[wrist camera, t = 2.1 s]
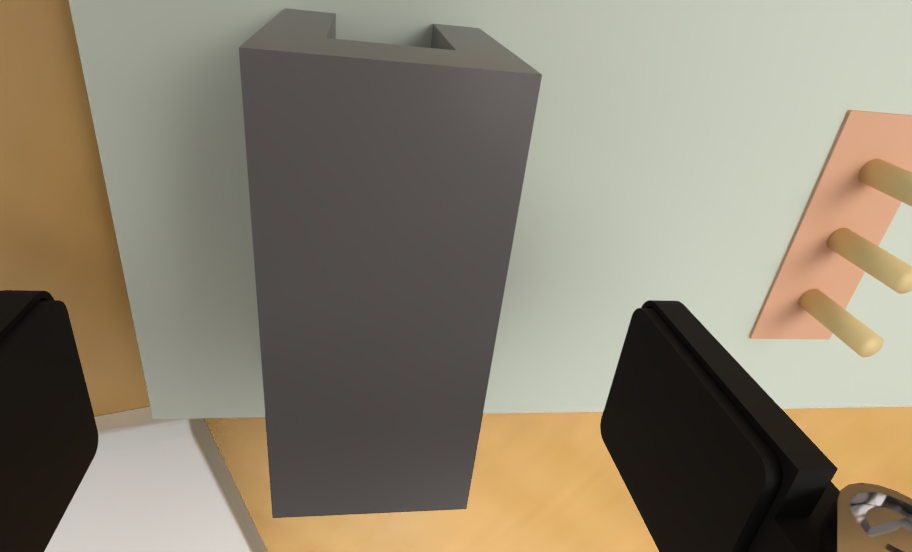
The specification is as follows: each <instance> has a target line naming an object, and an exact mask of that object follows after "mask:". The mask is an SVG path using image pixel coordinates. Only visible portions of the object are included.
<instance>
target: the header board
mask: <svg viewBox="0 0 912 552" xmlns="http://www.w3.org/2000/svg"><path fill="white" fill-rule="evenodd" d="M69 5H70V10H71V15H72V20H73V25H74V30H75V35H76V40H77V45H78V50H79V55H80V60H81V65H82V70H83V75H84V80H85V85H86V90H87V94H88V99H89V104H90V109H91V114H92V119H93V124H94V129H95V134H96V139H97V144H98V149H99V154H100V159H101V164H102V169H103V174H104V179H105V184H106V189H107V194H108V199H109V204H110V209H111V214H112V219H113V224H114V229H115V234H116V239H117V243H118V248H119V253H120V258H121V263H122V268H123V273H124V278H125V283H126V288H127V293H128V298H129V303H130V308H131V313H132V318H133V323H134V328H135V333H136V338H137V343H138V348H139V353H140V358H141V363H142V368H143V373H144V378H145V383H146V388H147V392H148V397H149V402H150V407H151V412H152V417H153V419H199V418H258V417H265V404H264V390H263V376H262V363H261V349H260V335H259V321H258V307H257V294H256V280H255V266H254V252H253V238H252V225H251V211H250V197H249V183H248V169H247V156H246V142H245V128H244V114H243V100H242V87H241V73H240V59H239V47H240V46H241V45H242V44H243V43H244V42H246V41H247V40H248V39H249V38H250V37H251V36H253V35H254V34H255V33H256V32H257V31H259V30H260V29H261V28H262V27H263V26H265V25H266V24H267V23H268V22H269V21H271V20H272V19H273V18H274V17H275V16H276V15H278V14H279V13H280V12H281V11H282V10H284V9H285V8H287V9H297V10H306V11H316V12H326V13H336V39H342V40H353V41H363V42H374V43H384V44H395V45H405V46H416V47H426V48H431V42H432V30H433V24H443V25H453V26H462V27H472V28H480V29H481V30H483V31H484V32H485V33H487V34H488V35H489V36H491V37H492V38H493V39H495V40H496V41H497V42H499V43H500V44H501V45H503V46H504V47H506V48H507V49H508V50H510V51H511V52H512V53H514V54H515V55H516V56H518V57H519V58H520V59H522V60H523V61H524V62H526V63H527V64H529V65H530V66H531V67H533V68H534V69H535V70H537V71H538V72H539V73H541V74H542V78H541V84H540V90H539V95H538V101H537V107H536V113H535V118H534V124H533V130H532V135H531V141H530V147H529V153H528V158H527V164H526V170H525V176H524V181H523V187H522V193H521V198H520V204H519V210H518V216H517V221H516V227H515V233H514V238H513V244H512V250H511V256H510V261H509V267H508V273H507V278H506V284H505V290H504V296H503V301H502V307H501V313H500V318H499V324H498V330H497V336H496V341H495V347H494V353H493V358H492V364H491V370H490V376H489V381H488V387H487V393H486V399H485V404H484V410H483V414H493V413H551V412H604V408H605V405H606V402H607V398H608V395H609V391H610V388H611V385H612V381H613V378H614V375H615V371H616V368H617V364H618V361H619V358H620V354H621V351H622V347H623V344H624V341H625V337H626V334H627V331H628V327H629V324H630V320H631V317H632V314H633V312H634V311H635V310H636V309H637V308H641V307H642V305H643V304H644V303H645V302H646V301H648V300H660V301H680V302H681V303H682V304H684V305H685V306H686V307H687V309H688V310H689V311H690V312H691V313H692V314H693V315H694V316H695V317H696V318H697V319H698V320H699V321H700V322H701V324H702V325H703V326H704V327H705V328H706V329H707V330H708V331H709V332H710V333H711V334H712V335H713V336H714V337H715V338H716V340H717V341H718V342H719V343H720V344H721V345H722V346H723V347H724V348H725V349H726V350H727V351H728V352H729V353H730V354H731V356H732V357H733V358H734V359H735V360H736V361H737V362H738V363H739V364H740V365H741V366H742V367H743V368H744V369H745V370H746V372H747V373H748V374H749V375H750V376H751V377H752V378H753V379H754V380H755V381H756V382H757V383H758V384H759V385H760V387H761V388H762V389H763V390H764V391H765V392H766V393H767V394H768V395H769V396H770V397H771V398H772V399H773V400H774V401H775V403H776V404H777V405H778V406H779V407H780V408H781V409H786V408H845V407H904V406H912V0H69Z"/></svg>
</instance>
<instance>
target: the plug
mask: <svg viewBox="0 0 912 552" xmlns="http://www.w3.org/2000/svg"><path fill="white" fill-rule="evenodd" d="M239 59H240V73H241V87H242V100H243V114H244V128H245V142H246V156H247V169H248V183H249V197H250V211H251V225H252V238H253V252H254V266H255V280H256V294H257V307H258V321H259V335H260V349H261V363H262V376H263V390H264V404H265V418H266V432H267V446H268V459H269V473H270V487H271V501H272V515H273V518H282V517H303V516H325V515H346V514H368V513H390V512H411V511H433V510H454V509H466V507H467V501H468V496H469V490H470V484H471V479H472V473H473V467H474V461H475V456H476V450H477V444H478V439H479V433H480V427H481V421H482V416H483V410H484V404H485V399H486V393H487V387H488V381H489V376H490V370H491V364H492V358H493V353H494V347H495V341H496V336H497V330H498V324H499V318H500V313H501V307H502V301H503V296H504V290H505V284H506V278H507V273H508V267H509V261H510V256H511V250H512V244H513V238H514V233H515V227H516V221H517V216H518V210H519V204H520V198H521V193H522V187H523V181H524V176H525V170H526V164H527V158H528V153H529V147H530V141H531V135H532V130H533V124H534V118H535V113H536V107H537V101H538V95H539V90H540V84H541V78H542V74H541V73H539V72H538V71H537V70H535V69H534V68H533V67H531V66H530V65H529V64H527V63H526V62H524V61H523V60H522V59H520V58H519V57H518V56H516V55H515V54H514V53H512V52H511V51H510V50H508V49H507V48H506V47H504V46H503V45H501V44H500V43H499V42H497V41H496V40H495V39H493V38H492V37H491V36H489V35H488V34H487V33H485V32H484V31H483V30H481V29H480V28H472V27H462V26H453V25H443V24H433V30H432V42H431V48H426V47H416V46H405V45H395V44H384V43H374V42H363V41H353V40H342V39H336V13H326V12H316V11H306V10H297V9H287V8H285V9H284V10H282V11H281V12H280V13H279V14H278V15H276V16H275V17H274V18H273V19H272V20H271V21H269V22H268V23H267V24H266V25H265V26H263V27H262V28H261V29H260V30H259V31H257V32H256V33H255V34H254V35H253V36H251V37H250V38H249V39H248V40H247V41H246V42H244V43H243V44H242V45H241V46H240V47H239Z"/></svg>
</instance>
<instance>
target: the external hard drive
mask: <svg viewBox="0 0 912 552" xmlns="http://www.w3.org/2000/svg"><path fill="white" fill-rule="evenodd" d="M94 418H95V422H96V426H97V430H98V447H97V451H96V454H95V456H94V459H93V460H92V462H91V464H90V466H89V468H88V470H87V472H86V474H85V476H84V477H83V479H82V481H81V483H80V485H79V487H78V489H77V491H76V493H75V494H74V496H73V498H72V500H71V502H70V504H69V506H68V508H67V510H66V511H65V513H64V515H63V517H62V519H61V521H60V523H59V525H58V527H57V529H56V530H55V532H54V534H53V536H52V538H51V540H50V542H49V544H48V546H47V547H46V549H45V551H44V552H268V551H267V549H266V547H265V545H264V543H263V541H262V539H261V537H260V535H259V533H258V531H257V528H256V526H255V524H254V522H253V520H252V518H251V516H250V514H249V512H248V510H247V508H246V505H245V503H244V501H243V499H242V497H241V495H240V493H239V491H238V489H237V487H236V485H235V482H234V480H233V478H232V476H231V474H230V472H229V470H228V468H227V466H226V464H225V462H224V459H223V457H222V455H221V453H220V451H219V449H218V447H217V445H216V443H215V441H214V438H213V436H212V434H211V432H210V430H209V428H208V426H207V424H206V421H205V419H204V418H199V419H153V417H152V412H151V407H150V406H149V407H143V408H137V409H132V410H127V411H122V412H116V413H111V414H106V415H100V416H95V417H94Z"/></svg>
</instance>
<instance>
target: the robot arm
mask: <svg viewBox="0 0 912 552" xmlns="http://www.w3.org/2000/svg"><path fill="white" fill-rule="evenodd" d="M601 435H602V438H603V441H604V443H605V445H606V447H607V449H608V451H609V453H610V455H611V457H612V459H613V461H614V463H615V465H616V467H617V469H618V471H619V473H620V475H621V477H622V479H623V481H624V483H625V484H626V486H627V488H628V490H629V492H630V494H631V496H632V498H633V500H634V502H635V504H636V506H637V508H638V510H639V512H640V514H641V516H642V518H643V520H644V522H645V524H646V526H647V528H648V530H649V532H650V534H651V536H652V538H653V540H654V542H655V544H656V546H657V548H658V550H659V552H912V499H911V498H909V497H907V496H905V495H903V494H901V493H899V492H897V491H894V490H891V489H888V488H885V487H882V486H879V485H874V484H866V483H857V484H849V485H847V486H846V487H845V488H843V489H842V490H840V491H839V490H838V489H837V488H836V487H835V486H834V484H833V483H832V482H831V479H832V478H833V476H834V474H835V473H836V471H837V468H836V467H835V466H834V464H833V463H832V462H831V461H830V460H829V459H828V458H827V457H826V456H825V455H824V454H823V453H822V452H821V451H820V450H819V448H818V447H817V446H816V445H815V444H814V443H813V442H812V441H811V440H810V439H809V438H808V437H807V436H806V435H805V433H804V432H803V431H802V430H801V429H800V428H799V427H798V426H797V425H796V424H795V423H794V422H793V421H792V420H791V419H790V417H789V416H788V415H787V414H786V413H785V412H784V411H783V410H782V409H781V408H780V407H779V406H778V405H777V404H776V403H775V401H774V400H773V399H772V398H771V397H770V396H769V395H768V394H767V393H766V392H765V391H764V390H763V389H762V388H761V387H760V385H759V384H758V383H757V382H756V381H755V380H754V379H753V378H752V377H751V376H750V375H749V374H748V373H747V372H746V370H745V369H744V368H743V367H742V366H741V365H740V364H739V363H738V362H737V361H736V360H735V359H734V358H733V357H732V356H731V354H730V353H729V352H728V351H727V350H726V349H725V348H724V347H723V346H722V345H721V344H720V343H719V342H718V341H717V340H716V338H715V337H714V336H713V335H712V334H711V333H710V332H709V331H708V330H707V329H706V328H705V327H704V326H703V325H702V324H701V322H700V321H699V320H698V319H697V318H696V317H695V316H694V315H693V314H692V313H691V312H690V311H689V310H688V309H687V307H686V306H685V305H684V304H682V303H681V302H680V301H660V300H648V301H646V302H645V303H644V304H643V305H642V307H641V308H637V309H636V310H635V311H634V312H633V314H632V317H631V320H630V324H629V327H628V331H627V334H626V337H625V341H624V344H623V347H622V351H621V354H620V358H619V361H618V364H617V368H616V371H615V375H614V378H613V381H612V385H611V388H610V391H609V395H608V398H607V402H606V405H605V408H604V412H603V415H602V418H601ZM97 447H98V430H97V426H96V422H95V418H94V414H93V410H92V406H91V402H90V398H89V394H88V390H87V387H86V383H85V379H84V375H83V371H82V367H81V363H80V359H79V355H78V351H77V347H76V343H75V339H74V335H73V331H72V327H71V323H70V319H69V315H68V311H67V308H66V306H65V304H64V303H63V302H62V301H54V299H53V297H52V296H51V294H50V293H48V292H46V291H11V290H5V291H0V552H44V551H45V549H46V547H47V546H48V544H49V542H50V540H51V538H52V536H53V534H54V532H55V530H56V529H57V527H58V525H59V523H60V521H61V519H62V517H63V515H64V513H65V511H66V510H67V508H68V506H69V504H70V502H71V500H72V498H73V496H74V494H75V493H76V491H77V489H78V487H79V485H80V483H81V481H82V479H83V477H84V476H85V474H86V472H87V470H88V468H89V466H90V464H91V462H92V460H93V459H94V456H95V454H96V451H97Z"/></svg>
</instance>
